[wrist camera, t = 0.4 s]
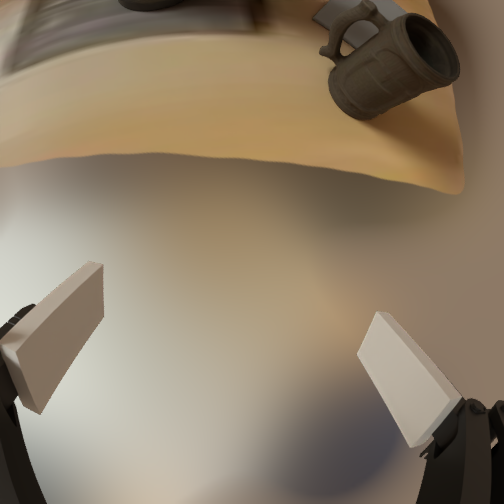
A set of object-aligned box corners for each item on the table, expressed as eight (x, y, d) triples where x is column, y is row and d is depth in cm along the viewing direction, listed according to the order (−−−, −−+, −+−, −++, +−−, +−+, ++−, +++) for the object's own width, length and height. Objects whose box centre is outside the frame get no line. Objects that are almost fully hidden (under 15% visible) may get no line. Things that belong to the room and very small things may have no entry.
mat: (407, 93, 39) (409, 93, 38) (312, 19, 34) (313, 17, 33) (430, 36, 38) (431, 35, 37) (355, -24, 33) (356, -25, 32)
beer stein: (389, 86, 38) (462, 42, 18) (379, 133, 39) (464, 99, 20) (312, 46, 36) (361, -27, 16) (295, 92, 37) (347, 18, 17)
